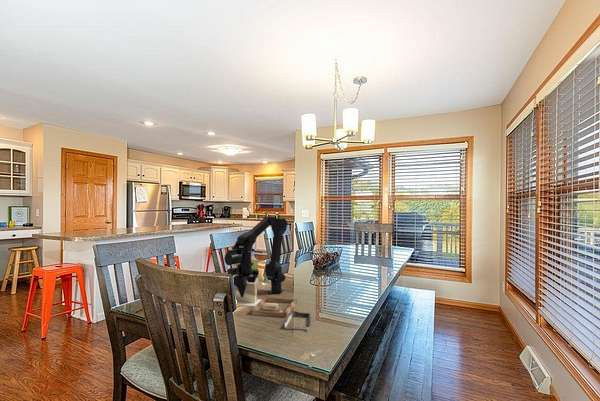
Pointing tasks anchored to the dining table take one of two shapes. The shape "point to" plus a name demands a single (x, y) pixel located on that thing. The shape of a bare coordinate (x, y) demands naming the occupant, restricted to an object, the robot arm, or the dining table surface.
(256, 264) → the tea box
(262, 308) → the offcut middle
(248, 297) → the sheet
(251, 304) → the mat
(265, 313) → the rack
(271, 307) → the offcut top
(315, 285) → the dining table surface
